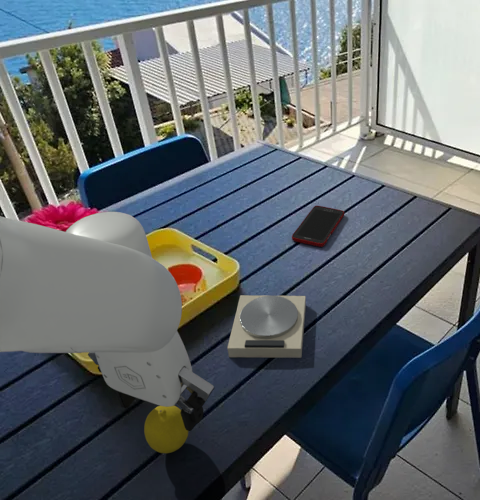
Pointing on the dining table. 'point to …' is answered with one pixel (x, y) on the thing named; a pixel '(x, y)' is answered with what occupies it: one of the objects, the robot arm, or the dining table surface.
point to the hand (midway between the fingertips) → (162, 410)
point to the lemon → (165, 429)
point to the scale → (268, 327)
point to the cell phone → (318, 226)
